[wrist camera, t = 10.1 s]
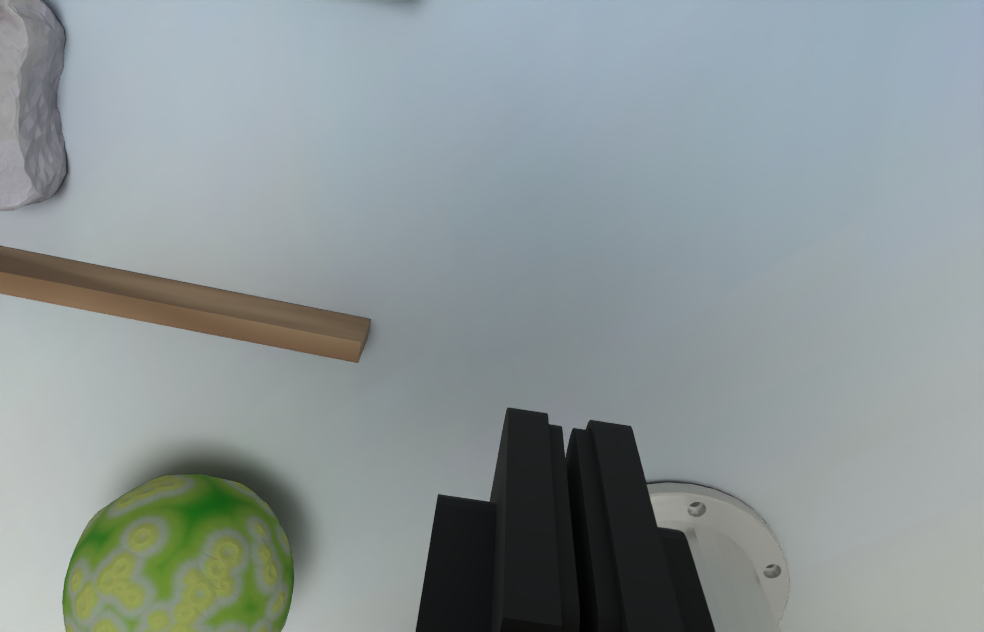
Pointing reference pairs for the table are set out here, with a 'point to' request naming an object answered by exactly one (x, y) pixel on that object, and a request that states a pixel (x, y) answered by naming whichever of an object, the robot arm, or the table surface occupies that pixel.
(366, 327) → the channel
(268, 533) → the decorative ball
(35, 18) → the stone block
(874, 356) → the table surface
